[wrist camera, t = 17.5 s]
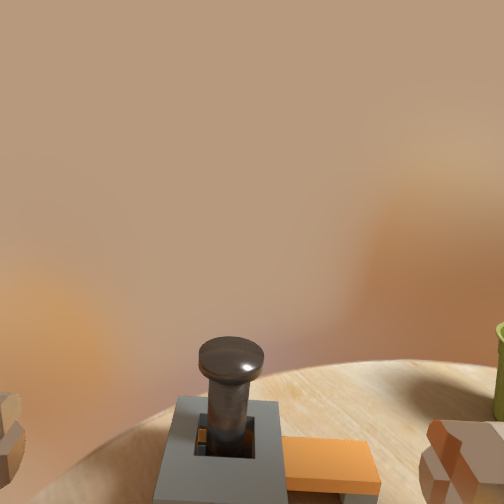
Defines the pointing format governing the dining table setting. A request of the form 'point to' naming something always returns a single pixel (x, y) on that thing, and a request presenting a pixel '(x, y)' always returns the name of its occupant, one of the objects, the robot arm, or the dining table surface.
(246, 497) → the bracket
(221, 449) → the pin
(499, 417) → the plant pot
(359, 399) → the dining table surface
